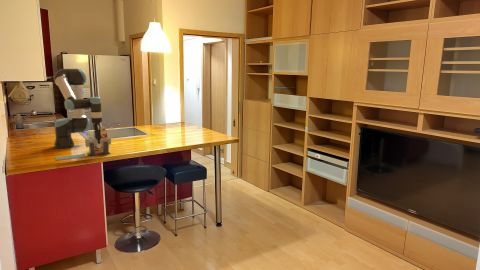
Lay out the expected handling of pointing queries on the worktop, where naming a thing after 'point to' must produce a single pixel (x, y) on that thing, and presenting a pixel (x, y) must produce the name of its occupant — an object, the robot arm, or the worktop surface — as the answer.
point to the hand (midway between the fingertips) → (98, 147)
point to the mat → (70, 157)
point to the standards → (92, 152)
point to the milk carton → (103, 135)
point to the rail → (90, 141)
